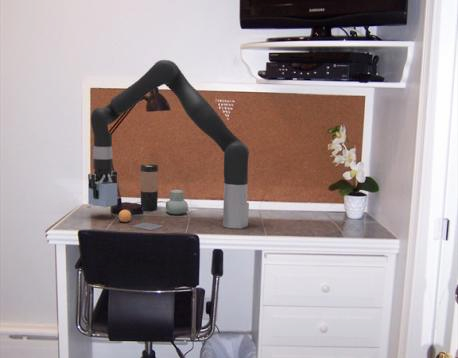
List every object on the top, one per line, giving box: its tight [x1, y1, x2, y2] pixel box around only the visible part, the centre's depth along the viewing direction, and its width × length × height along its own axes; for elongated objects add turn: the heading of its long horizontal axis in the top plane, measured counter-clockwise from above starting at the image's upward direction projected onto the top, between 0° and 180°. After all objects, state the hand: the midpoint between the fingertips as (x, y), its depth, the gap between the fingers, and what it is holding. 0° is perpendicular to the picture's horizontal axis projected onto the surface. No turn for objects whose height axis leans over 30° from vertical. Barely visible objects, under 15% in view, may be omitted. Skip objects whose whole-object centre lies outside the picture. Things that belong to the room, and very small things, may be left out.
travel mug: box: [140, 163, 159, 212], centre depth 227 cm, size 8×8×20 cm
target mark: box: [131, 222, 165, 231], centre depth 198 cm, size 10×8×1 cm
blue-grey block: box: [87, 182, 118, 208], centre depth 209 cm, size 10×7×9 cm
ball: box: [118, 209, 132, 223], centre depth 204 cm, size 5×5×5 cm
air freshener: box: [165, 189, 189, 216], centre depth 222 cm, size 11×8×10 cm
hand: (102, 197), depth 209 cm, fingers closed on blue-grey block, 6 cm apart
